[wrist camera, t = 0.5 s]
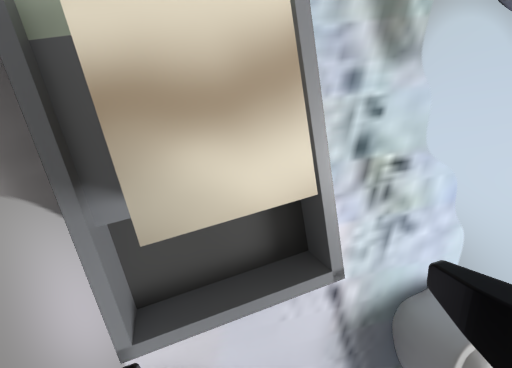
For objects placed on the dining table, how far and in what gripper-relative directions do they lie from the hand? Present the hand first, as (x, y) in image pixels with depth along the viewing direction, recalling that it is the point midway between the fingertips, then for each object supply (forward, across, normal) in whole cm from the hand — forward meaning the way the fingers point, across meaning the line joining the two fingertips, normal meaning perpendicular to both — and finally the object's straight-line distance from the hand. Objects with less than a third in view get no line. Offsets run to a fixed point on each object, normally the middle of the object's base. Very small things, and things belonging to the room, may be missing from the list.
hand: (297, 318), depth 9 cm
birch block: (+14, +1, -4) cm, 15 cm away
